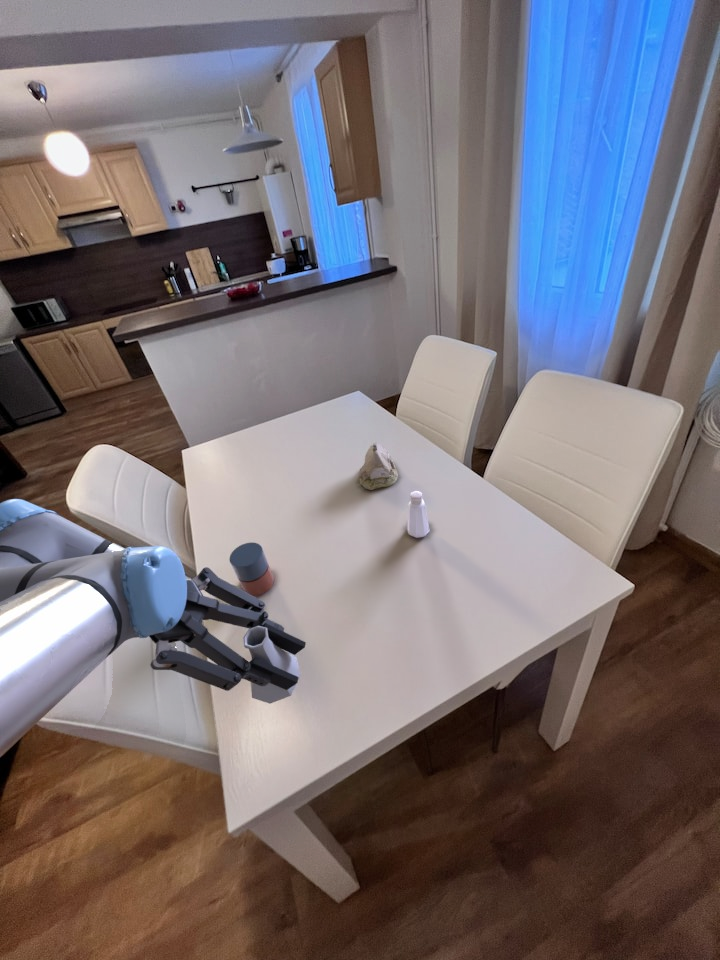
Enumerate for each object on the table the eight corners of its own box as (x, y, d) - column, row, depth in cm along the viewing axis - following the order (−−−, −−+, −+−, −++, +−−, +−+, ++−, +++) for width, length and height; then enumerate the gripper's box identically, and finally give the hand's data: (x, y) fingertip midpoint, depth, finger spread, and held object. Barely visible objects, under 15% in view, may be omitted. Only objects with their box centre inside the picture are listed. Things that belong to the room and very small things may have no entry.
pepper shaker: (434, 531, 95) (433, 495, 89) (415, 541, 94) (413, 505, 87) (420, 519, 99) (418, 484, 93) (402, 528, 98) (399, 493, 91)
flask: (296, 703, 53) (278, 662, 48) (244, 706, 54) (219, 665, 48) (304, 652, 59) (287, 610, 53) (256, 655, 60) (235, 614, 54)
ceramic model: (399, 487, 111) (396, 457, 105) (359, 491, 112) (353, 461, 106) (396, 459, 122) (393, 431, 117) (360, 463, 123) (355, 435, 118)
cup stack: (262, 600, 86) (249, 570, 80) (236, 591, 89) (222, 562, 83) (280, 575, 91) (268, 546, 85) (255, 568, 94) (243, 539, 88)
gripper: (91, 642, 38) (298, 726, 45) (174, 521, 52) (322, 599, 59) (72, 671, 42) (265, 744, 49) (154, 551, 56) (295, 622, 63)
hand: (296, 665), depth 54 cm, fingers closed on flask, 4 cm apart
